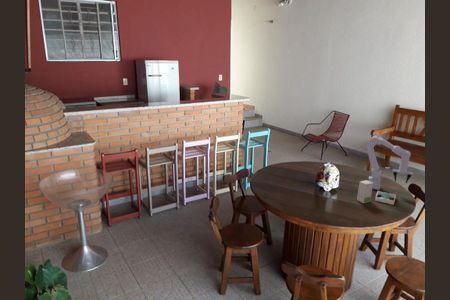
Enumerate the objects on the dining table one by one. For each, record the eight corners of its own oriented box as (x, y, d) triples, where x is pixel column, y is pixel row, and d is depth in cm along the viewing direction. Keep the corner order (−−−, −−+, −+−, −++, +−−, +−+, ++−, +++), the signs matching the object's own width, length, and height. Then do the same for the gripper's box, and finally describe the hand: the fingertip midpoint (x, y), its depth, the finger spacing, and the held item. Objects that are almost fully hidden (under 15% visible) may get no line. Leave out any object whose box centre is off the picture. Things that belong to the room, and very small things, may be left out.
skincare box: (363, 203, 235) (366, 184, 230) (355, 200, 240) (358, 181, 235) (370, 201, 238) (373, 182, 234) (363, 197, 244) (366, 179, 239)
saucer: (379, 199, 241) (379, 199, 241) (380, 196, 247) (380, 195, 246) (389, 202, 237) (389, 201, 237) (390, 198, 243) (390, 198, 243)
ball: (381, 199, 241) (381, 193, 240) (382, 196, 245) (382, 191, 244) (388, 200, 238) (389, 194, 237) (389, 198, 242) (389, 192, 241)
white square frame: (374, 200, 240) (375, 196, 239) (377, 194, 251) (377, 190, 250) (393, 204, 234) (394, 201, 233) (395, 198, 244) (395, 194, 243)
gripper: (393, 165, 246) (390, 181, 250) (414, 169, 239) (410, 185, 243) (393, 163, 252) (390, 178, 256) (414, 166, 244) (411, 182, 249)
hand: (400, 182), depth 250 cm, fingers open, 7 cm apart
